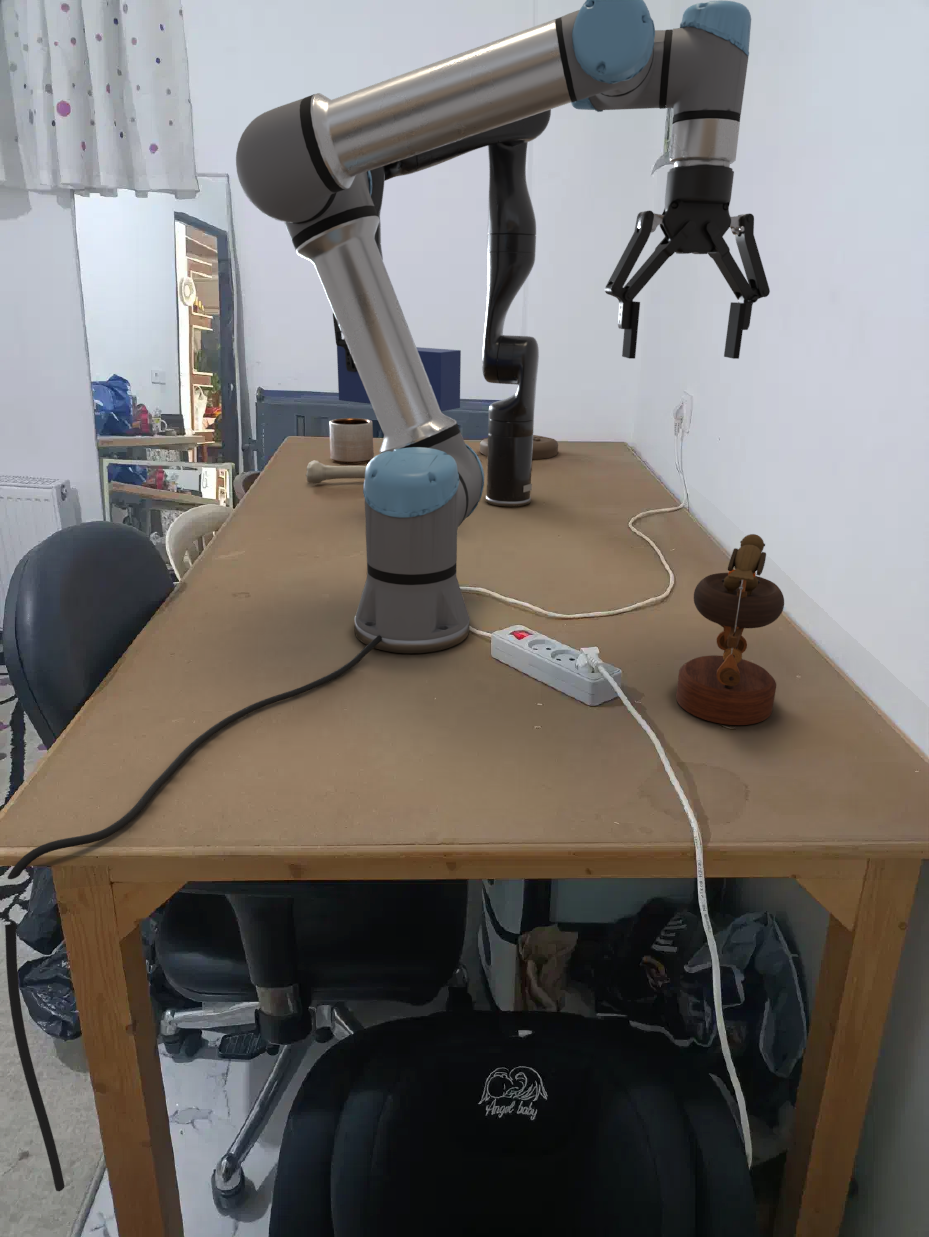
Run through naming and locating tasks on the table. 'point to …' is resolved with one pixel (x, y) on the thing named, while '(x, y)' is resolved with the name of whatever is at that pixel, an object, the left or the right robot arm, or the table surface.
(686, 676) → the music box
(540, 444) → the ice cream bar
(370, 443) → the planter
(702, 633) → the table surface
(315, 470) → the dog toy
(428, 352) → the box
